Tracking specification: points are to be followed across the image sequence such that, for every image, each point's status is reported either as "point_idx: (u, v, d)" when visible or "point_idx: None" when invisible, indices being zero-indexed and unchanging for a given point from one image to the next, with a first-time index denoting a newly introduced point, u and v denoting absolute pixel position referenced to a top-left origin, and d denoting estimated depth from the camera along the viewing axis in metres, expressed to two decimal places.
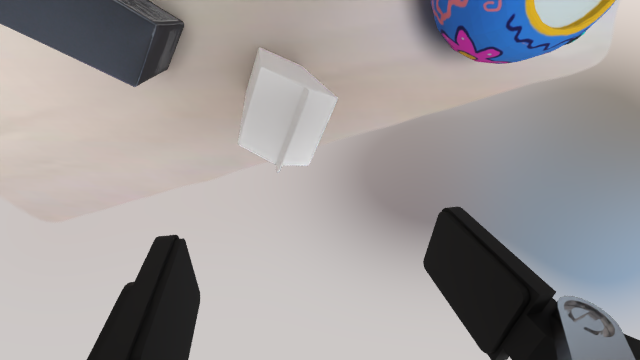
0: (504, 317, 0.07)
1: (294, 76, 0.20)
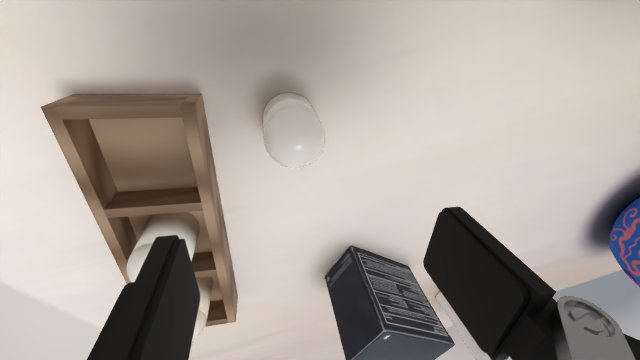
0: (504, 317, 0.07)
1: None
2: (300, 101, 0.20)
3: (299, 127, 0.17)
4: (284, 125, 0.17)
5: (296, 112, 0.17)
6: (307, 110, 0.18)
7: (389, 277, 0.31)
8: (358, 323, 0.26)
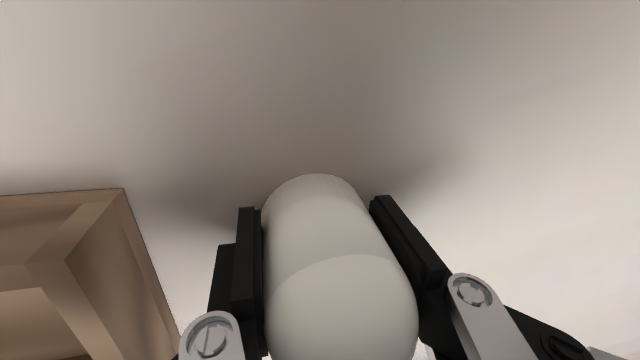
0: None
1: None
2: (347, 210, 0.09)
3: (369, 340, 0.06)
4: (324, 335, 0.06)
5: (354, 282, 0.06)
6: (378, 260, 0.07)
7: None
8: None
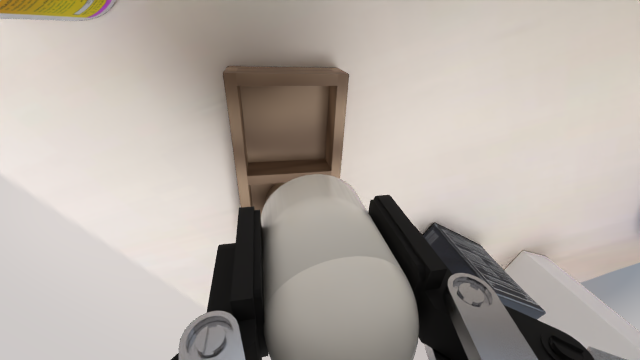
0: None
1: None
2: (348, 212, 0.09)
3: (369, 342, 0.06)
4: (325, 337, 0.06)
5: (354, 284, 0.06)
6: (378, 262, 0.07)
7: (474, 252, 0.32)
8: None
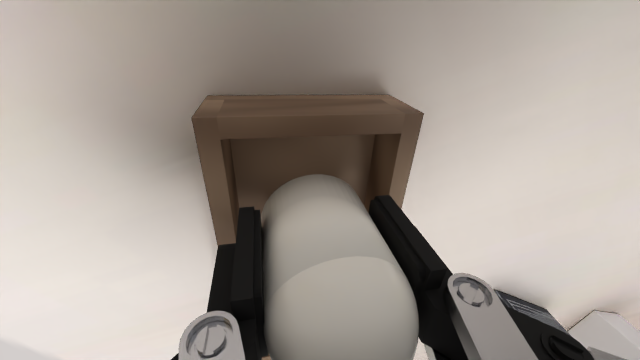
0: None
1: None
2: (347, 212, 0.09)
3: (369, 342, 0.06)
4: (325, 337, 0.06)
5: (354, 284, 0.06)
6: (378, 262, 0.07)
7: None
8: None
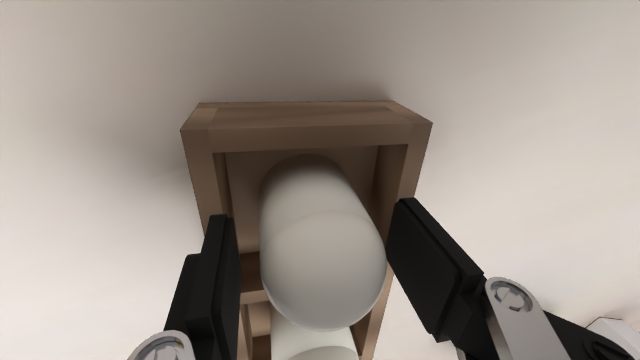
0: (442, 298, 0.08)
1: None
2: (331, 181, 0.10)
3: (342, 270, 0.07)
4: (307, 266, 0.07)
5: (331, 228, 0.08)
6: (353, 215, 0.08)
7: None
8: None
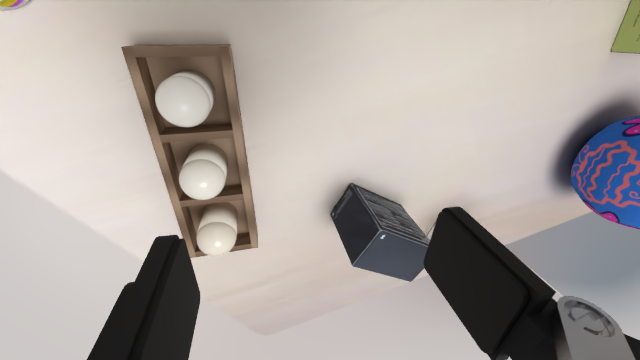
0: (504, 317, 0.07)
1: None
2: (190, 73, 0.24)
3: (177, 89, 0.21)
4: (165, 88, 0.21)
5: (176, 78, 0.22)
6: (188, 78, 0.23)
7: (384, 206, 0.37)
8: (360, 234, 0.32)
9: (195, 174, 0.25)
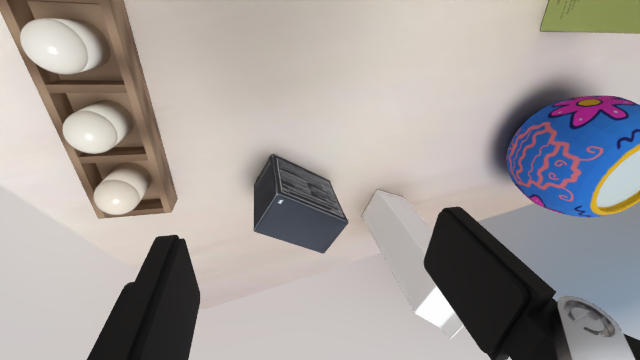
0: (504, 317, 0.07)
1: None
2: (69, 20, 0.24)
3: (38, 30, 0.21)
4: (26, 28, 0.21)
5: (40, 19, 0.22)
6: (57, 21, 0.22)
7: (302, 177, 0.37)
8: (264, 200, 0.32)
9: (75, 124, 0.25)
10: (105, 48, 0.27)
